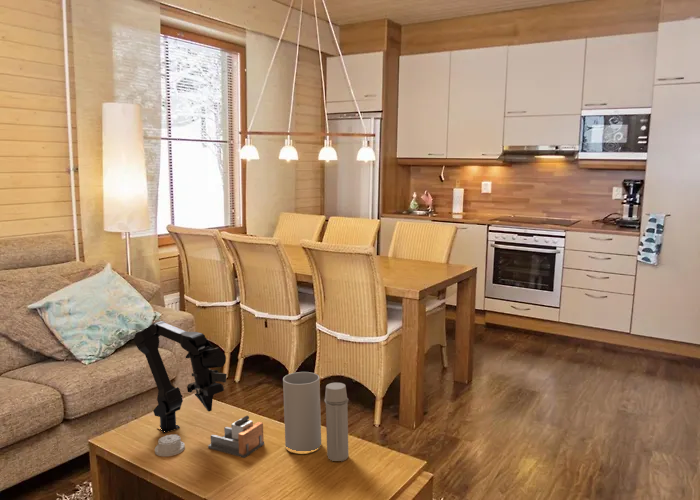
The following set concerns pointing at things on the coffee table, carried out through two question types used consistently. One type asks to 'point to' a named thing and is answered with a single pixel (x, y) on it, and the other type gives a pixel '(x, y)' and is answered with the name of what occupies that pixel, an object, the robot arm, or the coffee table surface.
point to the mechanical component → (169, 445)
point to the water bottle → (336, 421)
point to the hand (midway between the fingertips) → (209, 411)
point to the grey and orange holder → (245, 445)
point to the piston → (240, 426)
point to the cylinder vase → (302, 411)
